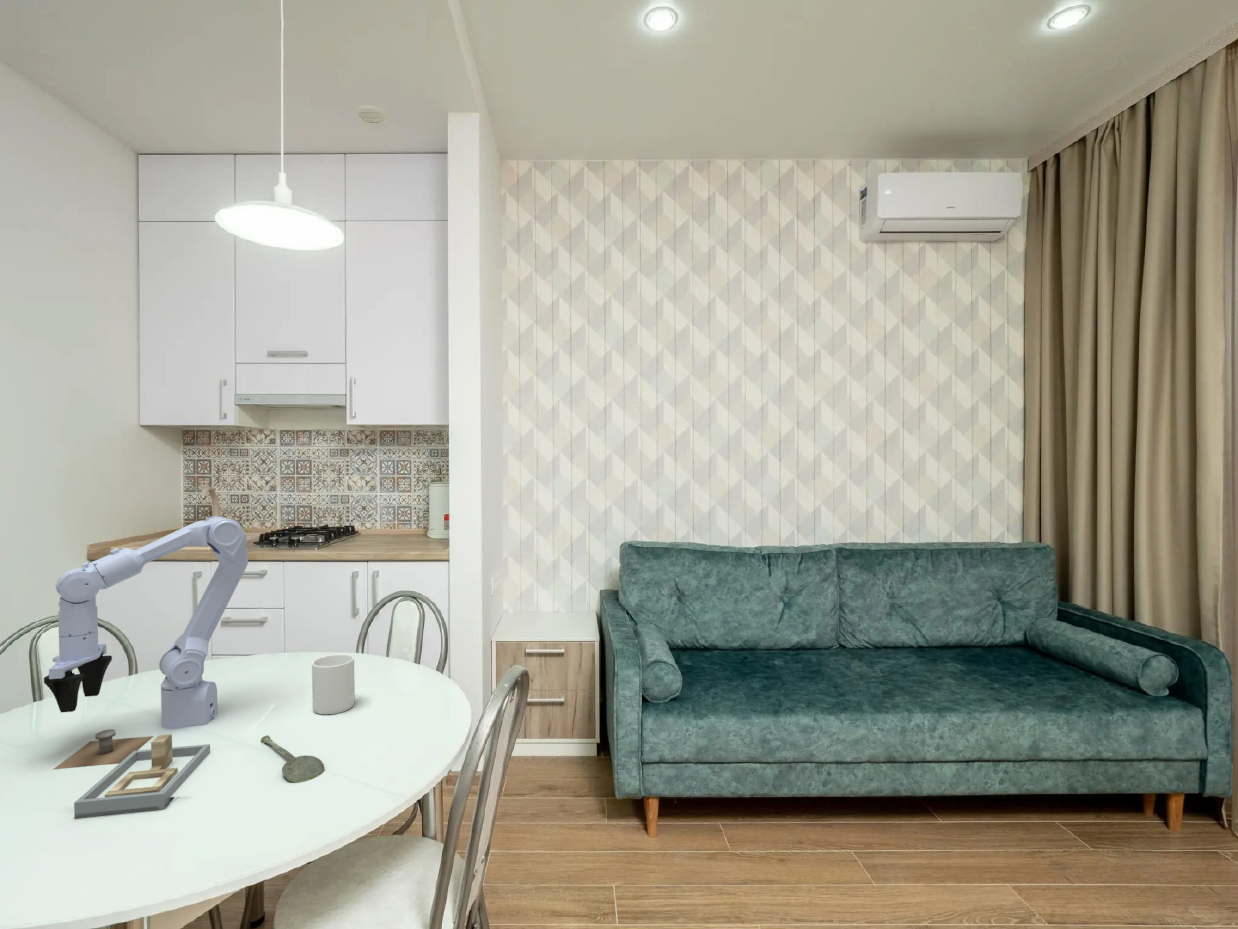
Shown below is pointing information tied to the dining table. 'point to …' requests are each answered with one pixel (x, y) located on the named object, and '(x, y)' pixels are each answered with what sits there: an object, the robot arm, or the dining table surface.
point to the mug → (333, 684)
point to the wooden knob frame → (160, 762)
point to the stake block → (104, 750)
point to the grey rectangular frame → (137, 802)
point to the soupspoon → (298, 765)
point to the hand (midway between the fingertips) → (80, 703)
